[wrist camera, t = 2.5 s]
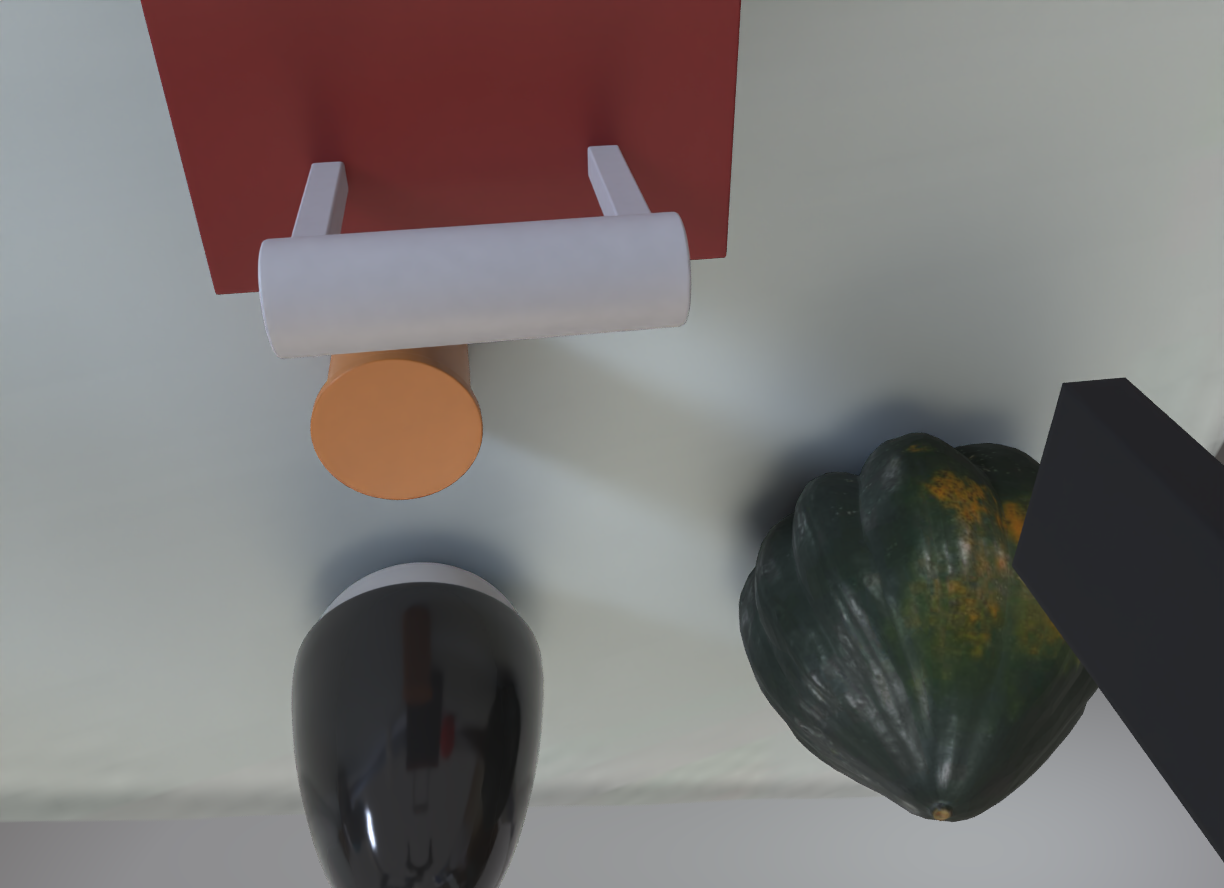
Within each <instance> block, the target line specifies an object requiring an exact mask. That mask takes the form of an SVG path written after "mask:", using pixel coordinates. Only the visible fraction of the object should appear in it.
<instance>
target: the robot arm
mask: <svg viewBox="0 0 1224 888" xmlns="http://www.w3.org/2000/svg"><path fill="white" fill-rule="evenodd" d="M1012 567H1013V568H1014V570H1015V571H1016V573H1017V574H1018V575H1019V577H1020V578H1021V580H1022V581H1023V582H1024V584H1025V585H1026V587H1027V588H1028V589H1029V591H1030V592H1031V593H1032V595H1033V596H1034V598H1035V599H1036V600H1037V602H1038V603H1039V605H1040V606H1041V607H1042V609H1043V610H1044V612H1045V613H1046V614H1047V616H1048V617H1049V619H1050V620H1051V621H1052V623H1053V624H1054V626H1055V627H1056V628H1057V630H1058V631H1059V633H1060V634H1061V635H1062V637H1063V638H1064V640H1065V641H1066V642H1067V644H1068V645H1069V647H1070V648H1071V649H1072V651H1073V652H1074V654H1075V655H1076V656H1077V658H1078V659H1079V661H1080V662H1081V663H1082V665H1083V666H1084V668H1085V669H1086V670H1087V672H1088V673H1089V675H1090V676H1091V677H1092V679H1093V680H1094V682H1095V683H1096V684H1097V686H1098V687H1099V689H1100V690H1101V691H1102V693H1103V694H1104V695H1105V697H1106V698H1107V700H1108V701H1109V702H1110V704H1111V705H1112V707H1113V708H1114V709H1115V711H1116V712H1117V713H1118V715H1119V716H1120V718H1121V719H1122V721H1123V722H1124V723H1125V725H1126V726H1127V728H1128V729H1129V730H1130V732H1131V733H1132V735H1133V736H1134V737H1135V739H1136V740H1137V742H1138V743H1139V744H1140V746H1141V747H1142V749H1143V750H1144V751H1145V753H1146V754H1147V755H1148V757H1149V758H1150V760H1151V761H1152V763H1153V764H1154V765H1155V767H1156V768H1157V769H1158V771H1159V772H1160V774H1161V775H1162V776H1163V778H1164V779H1165V781H1166V782H1167V783H1168V785H1169V786H1170V788H1171V789H1172V790H1173V792H1174V793H1175V795H1176V796H1177V797H1178V799H1179V800H1180V802H1181V803H1182V804H1183V806H1184V807H1185V809H1186V810H1187V811H1188V813H1189V814H1190V816H1191V817H1192V818H1193V820H1194V821H1195V823H1196V824H1197V825H1198V827H1199V828H1200V829H1201V831H1202V832H1203V834H1204V835H1205V837H1206V838H1207V839H1208V841H1209V842H1210V844H1211V845H1212V846H1213V848H1214V849H1215V851H1216V852H1217V853H1218V855H1219V856H1220V857H1221V859H1222V860H1223V862H1224V465H1222V464H1221V463H1220V462H1219V461H1218V460H1217V459H1216V458H1215V457H1214V456H1212V455H1211V454H1210V453H1209V452H1208V451H1207V450H1206V449H1205V448H1203V447H1202V446H1201V445H1200V444H1199V443H1198V442H1197V441H1196V440H1195V439H1193V438H1192V437H1191V436H1190V435H1189V434H1188V433H1187V432H1186V431H1184V430H1183V429H1182V428H1181V427H1180V426H1179V425H1178V424H1177V423H1176V422H1174V421H1173V420H1172V419H1171V418H1170V417H1169V416H1168V415H1167V414H1165V413H1164V412H1163V411H1162V410H1161V409H1160V408H1159V407H1158V406H1156V405H1155V404H1154V403H1153V402H1152V401H1151V400H1150V399H1149V398H1148V397H1146V396H1145V395H1144V394H1143V393H1142V392H1141V391H1140V390H1139V389H1137V388H1136V387H1135V386H1134V385H1133V384H1132V383H1131V382H1130V381H1129V380H1127V379H1126V378H1115V379H1103V380H1092V381H1081V382H1070V383H1063V384H1062V388H1061V391H1060V395H1059V398H1058V402H1057V405H1056V409H1055V413H1054V416H1053V420H1052V423H1051V427H1050V431H1049V434H1048V438H1047V441H1046V445H1045V448H1044V452H1043V456H1042V459H1041V463H1040V466H1039V470H1038V473H1037V477H1036V481H1035V484H1034V488H1033V491H1032V495H1031V499H1030V502H1029V506H1028V509H1027V513H1026V516H1025V520H1024V524H1023V527H1022V531H1021V534H1020V538H1019V541H1018V545H1017V549H1016V552H1015V556H1014V559H1013V563H1012Z"/></svg>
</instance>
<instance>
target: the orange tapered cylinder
mask: <svg viewBox="0 0 1224 888" xmlns="http://www.w3.org/2000/svg"><path fill="white" fill-rule="evenodd" d="M310 431H311V438H312V443H313V446H314V449H315V451H316V453H317V455H318V458H319V459H320V461H321V462H322V464H323V465H324V467H325V468H326V469H327V470H328V471H329V472H330V473H331V474H332V475H333V476H334V477H335V478H336V479H337V480H339V481H340V482H342V483H343V484H344V485H346V486H348V487H349V488H351V489H353V490H355V491H357V492H360V493H363V494H365V495H369V496H372V497H376V498H382V499H390V500H406V499H414V498H420V497H424V496H428V495H431V494H433V493H436V492H439V491H441V490H443V489H444V488H446V487H448V486H450V485H451V484H453V483H454V482H456V481H457V480H458V479H459V478H460V477H461V476H463V475H464V473H465V472H466V471H467V470H468V469H469V468H470V466H471V465H472V463H473V462H474V460H475V458H476V456H477V454H478V452H479V449H480V446H481V443H482V435H483V424H482V415H481V410H480V407H479V404H478V401H477V399H476V397H475V395H474V393H473V391H472V390H471V386H470V372H469V358H468V344H459V345H446V346H434V347H422V348H409V349H397V350H385V351H372V352H360V353H348V354H335V355H331V361H330V367H329V373H328V379H327V382H326V383H325V384H324V386H323V387H322V388H321V390H320V392H319V394H318V396H317V398H316V400H315V403H314V406H313V411H312V417H311V429H310Z"/></svg>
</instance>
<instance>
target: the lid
mask: <svg viewBox="0 0 1224 888" xmlns="http://www.w3.org/2000/svg"><path fill="white" fill-rule="evenodd" d="M141 4H142V8H143V12H144V16H145V20H146V24H147V28H148V32H149V35H150V39H151V43H152V47H153V51H154V55H155V59H156V63H157V67H158V71H159V75H160V78H161V82H162V86H163V90H164V94H165V98H166V102H167V106H168V110H169V114H170V117H171V121H172V125H173V129H174V133H175V137H176V141H177V145H178V149H179V153H180V156H181V160H182V164H183V168H184V172H185V176H186V180H187V184H188V188H189V192H190V196H191V199H192V203H193V207H194V211H195V215H196V219H197V223H198V227H199V231H200V235H201V238H202V242H203V246H204V250H205V254H206V258H207V262H208V266H209V270H210V274H211V278H212V281H213V285H214V289H215V293H216V294H218V295H220V294H233V293H247V292H259V294H260V303H261V309H262V315H263V320H264V325H265V329H266V333H267V336H268V339H269V342H270V345H271V347H272V349H273V351H274V353H275V354H276V356H277V357H279V358H282V359H286V358H298V357H311V356H323V355H335V354H348V353H360V352H372V351H385V350H397V349H409V348H422V347H434V346H446V345H459V344H471V343H483V342H496V341H508V340H520V339H533V338H545V337H557V336H570V335H582V334H594V333H607V332H619V331H631V330H644V329H656V328H668V327H680V326H682V325H684V324H685V323H686V321H687V318H688V314H689V309H690V301H691V265H690V260H698V259H712V258H724V257H726V252H727V235H728V217H729V200H730V183H731V166H732V148H733V131H734V114H735V97H736V79H737V62H738V45H739V28H740V10H741V0H141Z"/></svg>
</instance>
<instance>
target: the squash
mask: <svg viewBox="0 0 1224 888" xmlns="http://www.w3.org/2000/svg"><path fill="white" fill-rule="evenodd" d="M1039 466H1040V464H1039V463H1038V462H1037V461H1035V460H1034V459H1033V458H1032V457H1030V456H1029V455H1027V454H1026V453H1024V452H1022V451H1020V450H1018V449H1016V448H1012V447H1008V446H1004V445H1000V444H992V443H981V444H970V445H964V446H959V447H956V448H953V447H951V446H950V445H949V444H947V443H945V442H944V441H942V440H940V439H939V438H937V437H934V436H932V435H929V434H926V433H911V434H907V435H904V436H901V437H898V438H895V439H891V440H888V441H886V442H884V443H882V444H881V445H880V446H879V447H878V448H877V449H876V450H875V451H874V452H873V453H872V454H871V455H870V456H869V458H868V459H867V461H866V462H865V464H864V466H863V468H862V471H861V474H860V475H854V474H850V473H846V472H832V473H826V474H824V475H822V476H820V477H818V478H816V479H814V480H812V481H810V482H809V483H808V484H807V485H806V487H805V488H804V490H803V491H802V493H801V495H800V496H799V498H798V500H797V503H796V507H795V512H794V513H793V514H791V515H789V516H787V517H786V518H784V519H783V520H781V521H780V522H779V523H777V524H776V525H775V526H773V527H772V528H771V530H770V531H769V533H768V534H767V536H766V537H765V539H764V540H763V542H762V544H761V547H760V550H759V553H758V557H757V562H756V566H755V568H754V569H753V570H752V572H751V573H750V574H749V576H748V578H747V581H746V583H745V585H744V588H743V590H742V592H741V596H740V601H739V620H740V632H741V636H742V640H743V643H744V647H745V651H746V654H747V657H748V659H749V662H750V665H751V667H752V670H753V672H754V675H755V678H756V680H757V682H758V684H759V686H760V689H761V691H762V692H763V694H764V695H765V697H766V698H767V700H768V701H769V702H770V704H771V705H772V707H773V708H774V709H775V710H776V711H777V712H778V714H779V715H780V716H781V717H782V718H783V720H784V721H785V722H786V723H787V725H788V726H789V728H790V729H791V730H792V732H793V733H794V735H795V736H796V738H797V739H798V740H799V741H800V742H801V743H802V745H804V746H805V747H806V748H807V749H808V750H809V751H810V752H811V753H813V754H814V755H815V756H817V757H818V758H819V759H820V760H822V761H823V762H825V763H826V764H828V765H829V766H831V767H832V768H834V769H835V770H837V771H839V772H841V773H842V774H844V775H846V776H848V777H850V778H851V779H853V780H855V781H856V782H858V783H860V784H862V785H864V786H866V787H868V788H870V789H872V790H874V791H876V792H878V793H880V794H882V795H884V796H885V797H887V798H888V799H890V800H892V801H893V802H895V803H896V804H898V805H899V806H901V807H902V808H904V809H906V810H907V811H909V812H910V813H912V814H914V815H917V816H920V817H923V818H925V819H932V820H940V821H950V822H956V821H961V820H966V819H969V818H972V817H975V816H977V815H979V814H981V813H983V812H984V811H986V810H988V809H989V808H991V807H992V806H994V805H996V804H997V803H999V802H1000V801H1002V800H1003V799H1004V798H1006V797H1007V796H1008V795H1009V794H1010V793H1012V792H1013V791H1015V790H1016V789H1017V788H1018V787H1019V786H1020V785H1022V784H1023V783H1024V782H1025V781H1026V780H1027V779H1028V778H1029V777H1030V776H1031V775H1032V774H1034V773H1035V772H1036V771H1037V770H1038V769H1039V768H1040V767H1041V765H1042V764H1043V763H1044V762H1045V761H1046V760H1047V759H1048V758H1049V757H1050V756H1051V754H1052V753H1053V752H1054V751H1055V749H1056V748H1057V747H1058V746H1059V745H1060V744H1061V743H1062V741H1063V740H1064V739H1065V738H1066V737H1067V735H1068V734H1069V733H1070V732H1071V730H1072V729H1073V727H1074V726H1075V724H1076V723H1077V721H1078V720H1079V719H1080V717H1081V716H1082V714H1083V712H1084V709H1085V706H1086V703H1087V701H1088V700H1089V699H1090V698H1091V696H1092V695H1093V694H1094V693H1095V691H1096V690H1097V688H1098V686H1097V684H1096V683H1095V682H1094V680H1093V679H1092V677H1091V676H1090V675H1089V673H1088V672H1087V670H1086V669H1085V668H1084V666H1083V665H1082V663H1081V662H1080V661H1079V659H1078V658H1077V656H1076V655H1075V654H1074V652H1073V651H1072V649H1071V648H1070V647H1069V645H1068V644H1067V642H1066V641H1065V640H1064V638H1063V637H1062V635H1061V634H1060V633H1059V631H1058V630H1057V628H1056V627H1055V626H1054V624H1053V623H1052V621H1051V620H1050V619H1049V617H1048V616H1047V614H1046V613H1045V612H1044V610H1043V609H1042V607H1041V606H1040V605H1039V603H1038V602H1037V600H1036V599H1035V598H1034V596H1033V595H1032V593H1031V592H1030V591H1029V589H1028V588H1027V587H1026V585H1025V584H1024V582H1023V581H1022V580H1021V578H1020V577H1019V575H1018V574H1017V573H1016V571H1015V570H1014V568H1013V567H1012V563H1013V559H1014V556H1015V552H1016V549H1017V545H1018V541H1019V538H1020V534H1021V531H1022V527H1023V524H1024V520H1025V516H1026V513H1027V509H1028V506H1029V502H1030V499H1031V495H1032V491H1033V488H1034V484H1035V481H1036V477H1037V473H1038V470H1039Z"/></svg>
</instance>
